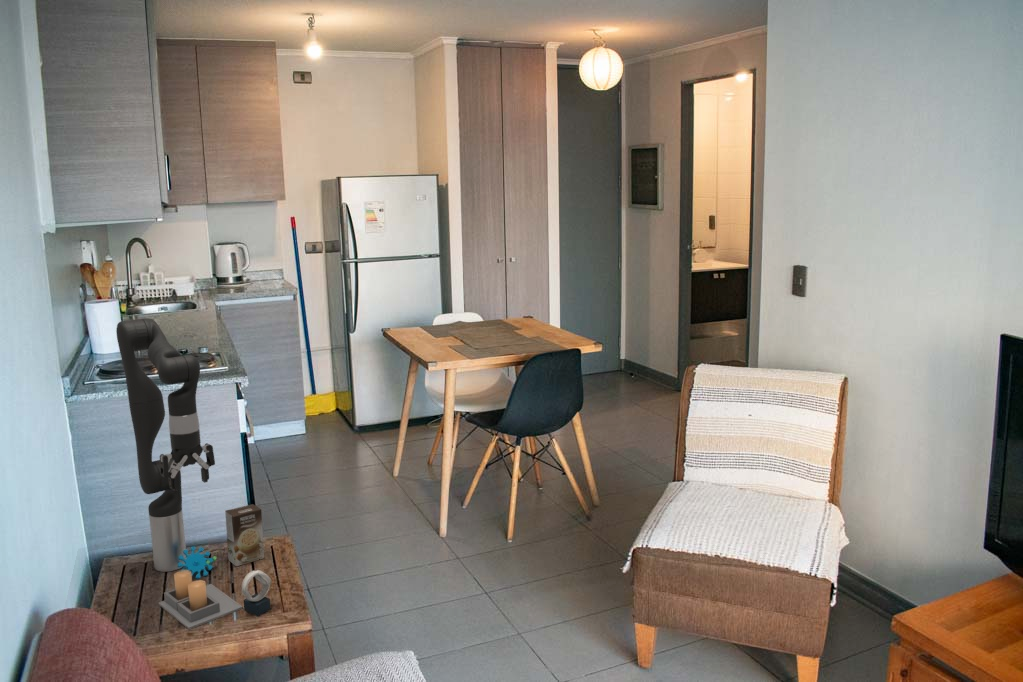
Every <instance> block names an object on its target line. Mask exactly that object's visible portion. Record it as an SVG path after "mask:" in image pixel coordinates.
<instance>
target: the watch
mask: <svg viewBox="0 0 1023 682" xmlns="http://www.w3.org/2000/svg"><path fill="white" fill-rule="evenodd" d="M253 578H255V579H256V580H257V581H258V582H259V583H260V584H261V585H262V587H261V590H260V591H259V592H258V593H255V594H252V595H251V593H250V591H249V589H248V587H249V584H250V581H251V580H252V579H253ZM271 582H272V579H271V577H270V576H269V575H268V574H266V573H265V572H263V571H262V570H260V569H256V570H251V571H250V572H248V573H247V574H246V575H245V577H244V578H243V580H242V583H241V593H242V595H243V596H244V598H245V599H243V610H244V612H247V613H249V614H251V615H254V616H257V617H259V616H261V615H263V614H265V613H266V612H269V611H270V610H271V609H272V608H271V599H270V598H269V597H266V595H267V594H268V592H269V591H270V587H271Z"/></svg>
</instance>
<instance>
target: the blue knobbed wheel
mask: <svg viewBox="0 0 1023 682" xmlns="http://www.w3.org/2000/svg"><path fill="white" fill-rule="evenodd" d="M196 549H197V548H196V546H191V547H190V554H188V553H189V549H187V548H186V550H184V551H183V553H184V554H185V555H186V558H187V559H184V558H183V555H180V556H179V558H178V559H179V560H182V561H184V563H185V564H182V563H181V562H179V563H178V567H179V568H180V567H182V568H180V569H181V570H180V571H183V570H189V571H191V575H192V576H193V575H194V574H195V573H197V574H196V575H195V579H196V580H201V571H203V572H202V576H203V577H206V576H208V574H209V572H208V571H211V570H212V569H213V564H214V562H216V560H217V556H216V555H215V556H212V557H210V558H207V557H209V556H210V555H211V553H210V551H209V550H207V551H206V552H205V553H203V551H204V550H205V548H203V547H202V546H200V547H199V548H198V551H196ZM195 551H196V552H195ZM185 568H186V569H185ZM206 568H207V570H208V571H207V570H206Z"/></svg>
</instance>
